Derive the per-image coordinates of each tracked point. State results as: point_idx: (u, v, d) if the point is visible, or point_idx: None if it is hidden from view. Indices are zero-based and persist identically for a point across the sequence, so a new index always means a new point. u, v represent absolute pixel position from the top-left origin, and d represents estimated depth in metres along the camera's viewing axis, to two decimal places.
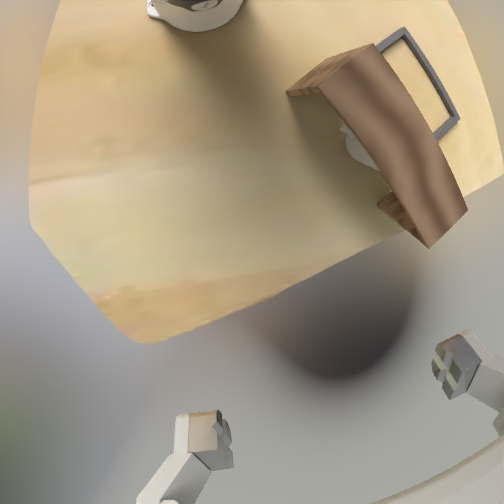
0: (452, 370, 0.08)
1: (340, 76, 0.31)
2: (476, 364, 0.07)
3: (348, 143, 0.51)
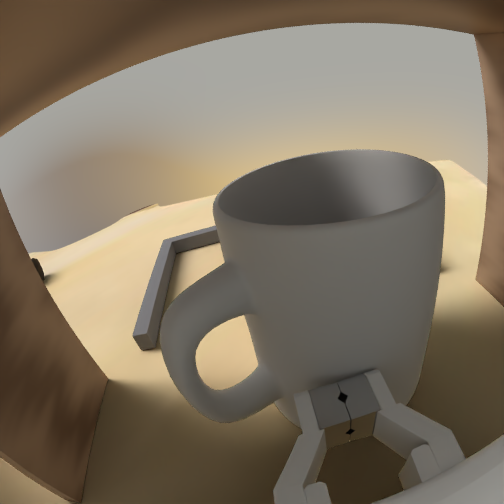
0: None
1: None
2: (372, 412, 0.07)
3: None
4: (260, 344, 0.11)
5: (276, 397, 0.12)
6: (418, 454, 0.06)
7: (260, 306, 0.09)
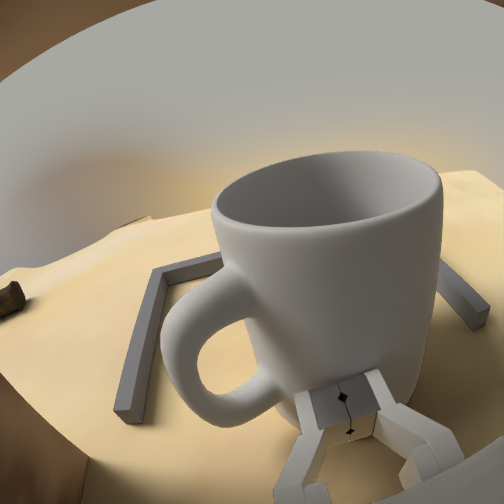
0: None
1: None
2: (372, 412, 0.07)
3: None
4: (261, 347, 0.11)
5: (277, 400, 0.12)
6: (418, 454, 0.06)
7: (262, 309, 0.09)
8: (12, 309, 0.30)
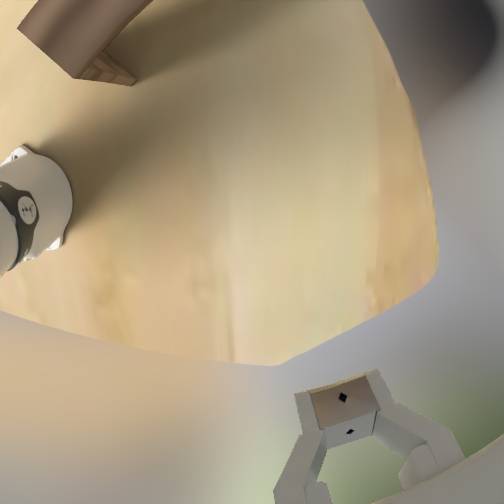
0: None
1: (58, 52, 0.17)
2: (372, 412, 0.07)
3: None
4: None
5: None
6: (417, 454, 0.06)
7: None
8: None
